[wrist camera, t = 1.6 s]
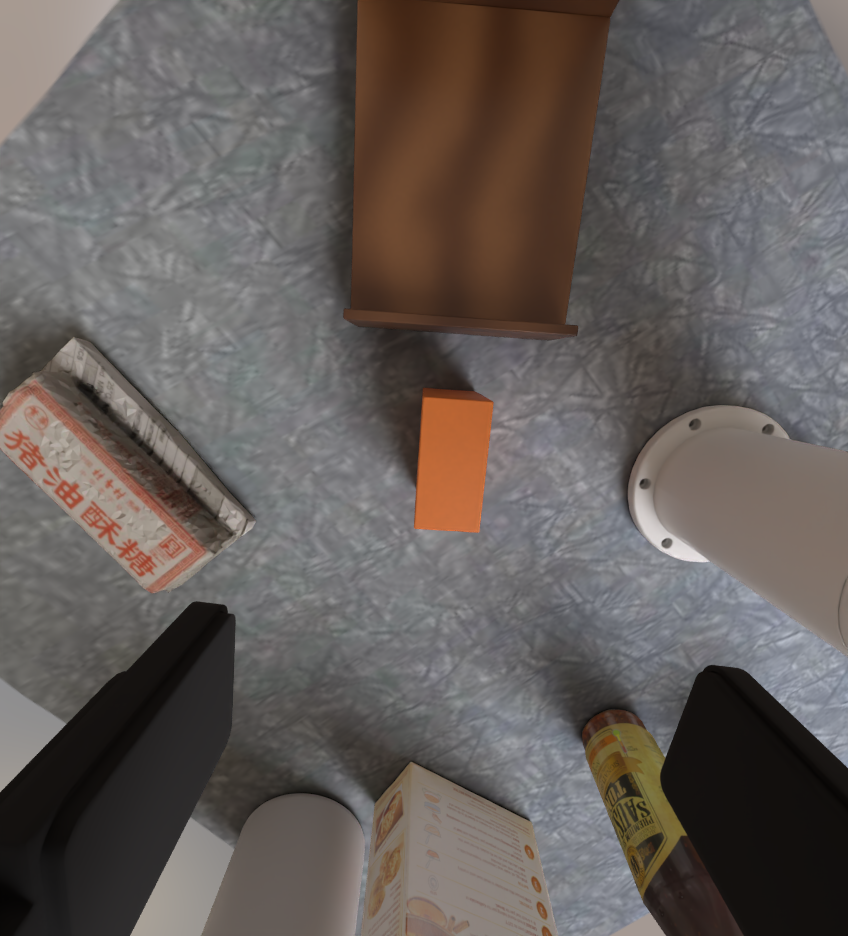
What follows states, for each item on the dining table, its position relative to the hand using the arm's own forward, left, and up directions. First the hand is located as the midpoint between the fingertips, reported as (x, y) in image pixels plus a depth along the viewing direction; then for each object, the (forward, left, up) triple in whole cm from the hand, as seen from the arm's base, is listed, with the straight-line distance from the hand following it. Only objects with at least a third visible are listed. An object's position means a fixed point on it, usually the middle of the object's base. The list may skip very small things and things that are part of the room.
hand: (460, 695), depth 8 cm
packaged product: (+23, +4, -25) cm, 34 cm away
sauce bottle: (-19, +27, -25) cm, 41 cm away
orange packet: (-1, 0, -24) cm, 24 cm away
